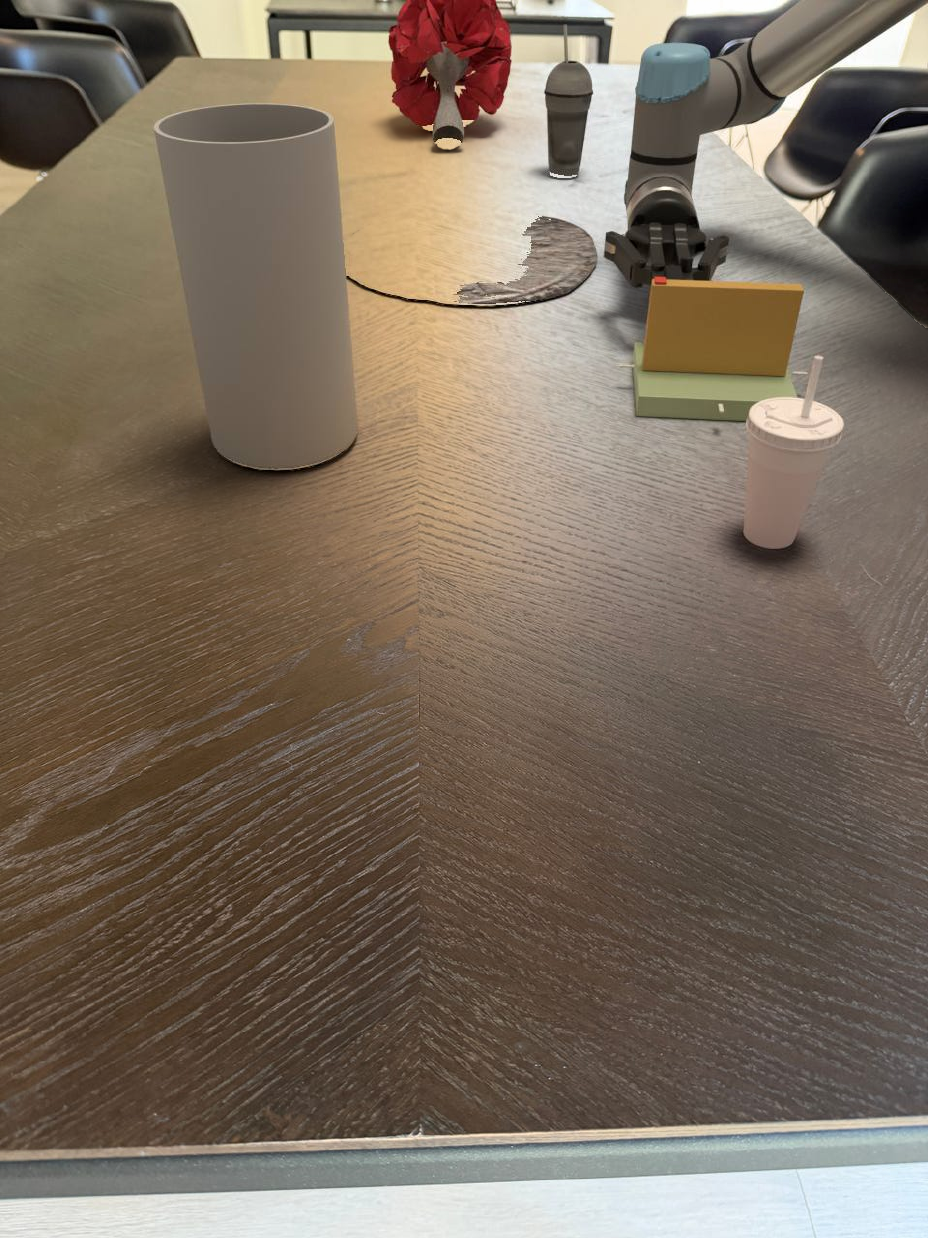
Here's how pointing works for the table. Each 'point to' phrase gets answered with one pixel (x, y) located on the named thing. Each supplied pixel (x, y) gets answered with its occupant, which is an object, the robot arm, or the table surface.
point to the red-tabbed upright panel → (720, 326)
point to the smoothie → (786, 462)
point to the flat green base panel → (702, 392)
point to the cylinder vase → (263, 277)
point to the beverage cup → (567, 114)
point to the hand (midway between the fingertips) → (675, 304)
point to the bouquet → (449, 62)
